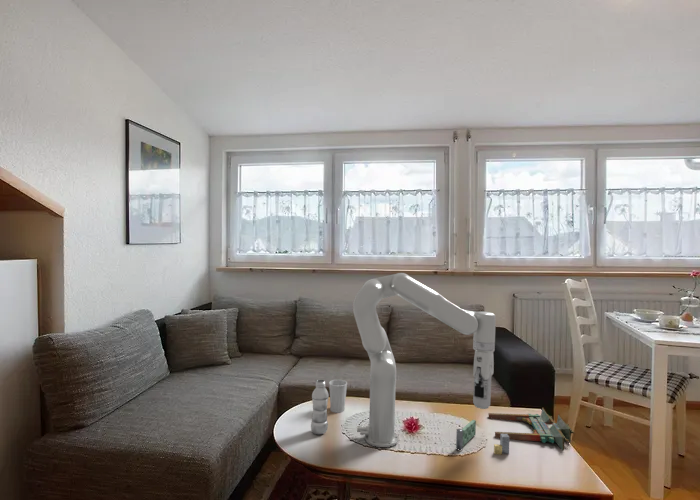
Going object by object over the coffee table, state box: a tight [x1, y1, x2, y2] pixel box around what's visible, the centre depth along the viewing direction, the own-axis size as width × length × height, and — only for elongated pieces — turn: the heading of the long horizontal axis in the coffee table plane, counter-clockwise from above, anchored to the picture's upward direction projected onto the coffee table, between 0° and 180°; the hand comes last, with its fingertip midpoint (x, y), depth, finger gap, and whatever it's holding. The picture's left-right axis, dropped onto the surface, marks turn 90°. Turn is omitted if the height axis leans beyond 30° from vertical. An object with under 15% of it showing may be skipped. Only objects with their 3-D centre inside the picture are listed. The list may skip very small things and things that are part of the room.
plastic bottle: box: [310, 379, 330, 435], centre depth 154 cm, size 6×7×20 cm
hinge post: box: [455, 428, 464, 450], centre depth 144 cm, size 2×2×7 cm
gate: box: [461, 419, 477, 447], centre depth 150 cm, size 12×1×6 cm, turn 141°
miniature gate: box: [488, 407, 576, 451], centre depth 160 cm, size 27×6×30 cm
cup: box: [328, 379, 348, 414], centre depth 176 cm, size 8×8×12 cm
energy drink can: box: [472, 371, 492, 410], centre depth 147 cm, size 6×6×15 cm
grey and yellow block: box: [493, 434, 510, 456], centre depth 142 cm, size 5×3×6 cm, turn 86°
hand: (481, 393), depth 147 cm, fingers closed on energy drink can, 6 cm apart
